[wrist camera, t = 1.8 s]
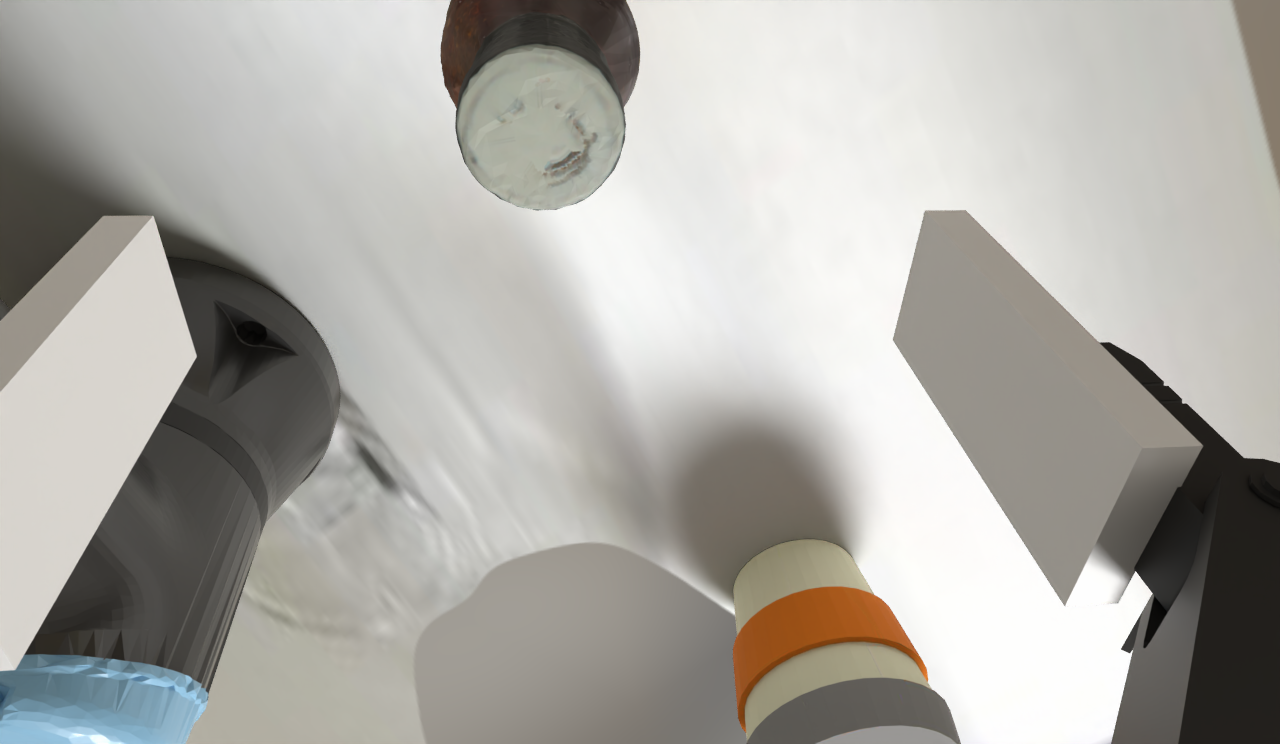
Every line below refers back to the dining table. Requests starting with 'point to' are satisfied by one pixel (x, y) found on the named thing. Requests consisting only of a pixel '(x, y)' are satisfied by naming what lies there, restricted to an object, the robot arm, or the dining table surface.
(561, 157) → the sauce bottle
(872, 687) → the reusable coffee cup
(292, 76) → the dining table surface
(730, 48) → the dining table surface
